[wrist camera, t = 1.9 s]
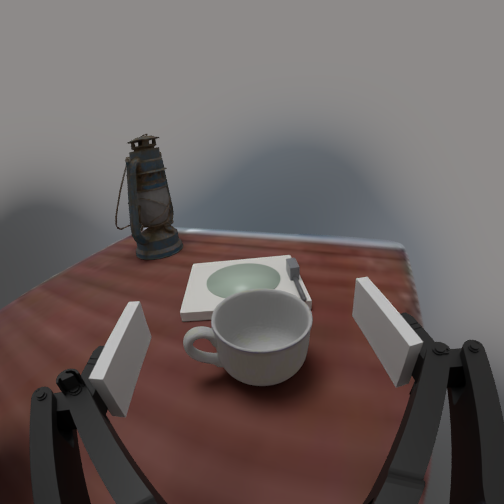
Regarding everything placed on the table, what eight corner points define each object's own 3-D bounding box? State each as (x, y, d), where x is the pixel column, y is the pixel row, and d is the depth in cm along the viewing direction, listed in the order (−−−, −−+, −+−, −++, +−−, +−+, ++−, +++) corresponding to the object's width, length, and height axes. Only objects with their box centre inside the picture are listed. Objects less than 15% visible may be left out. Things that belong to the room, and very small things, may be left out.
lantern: (162, 266, 62) (141, 131, 51) (115, 264, 65) (93, 143, 54) (195, 237, 79) (182, 129, 68) (153, 237, 83) (138, 138, 71)
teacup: (298, 333, 38) (298, 282, 35) (319, 391, 28) (326, 337, 25) (196, 345, 37) (185, 295, 34) (192, 406, 27) (174, 355, 24)
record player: (181, 322, 42) (176, 300, 40) (194, 270, 59) (191, 253, 57) (311, 310, 42) (312, 288, 41) (289, 262, 60) (289, 244, 58)
